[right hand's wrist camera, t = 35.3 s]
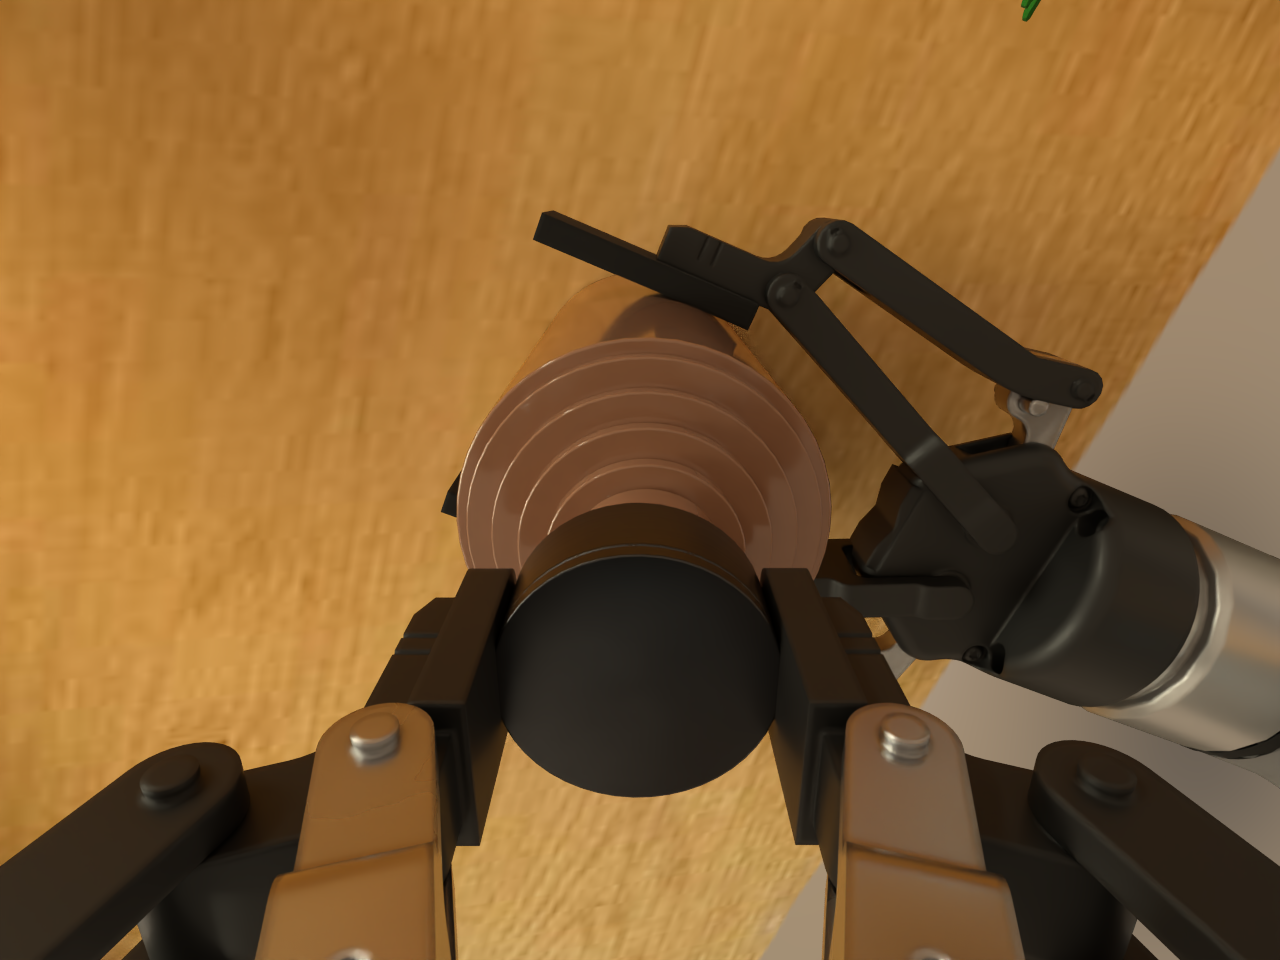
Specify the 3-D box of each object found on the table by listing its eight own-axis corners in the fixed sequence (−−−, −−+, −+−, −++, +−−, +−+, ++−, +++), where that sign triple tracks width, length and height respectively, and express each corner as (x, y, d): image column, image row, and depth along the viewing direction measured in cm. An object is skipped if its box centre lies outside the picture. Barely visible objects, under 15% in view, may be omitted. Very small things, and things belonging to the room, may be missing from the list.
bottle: (551, 255, 28) (406, 348, 10) (757, 290, 28) (970, 437, 10) (528, 453, 31) (383, 802, 13) (716, 481, 31) (830, 854, 13)
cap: (734, 733, 13) (749, 813, 11) (500, 701, 13) (479, 779, 11) (790, 522, 12) (816, 579, 10) (526, 481, 11) (505, 533, 10)
